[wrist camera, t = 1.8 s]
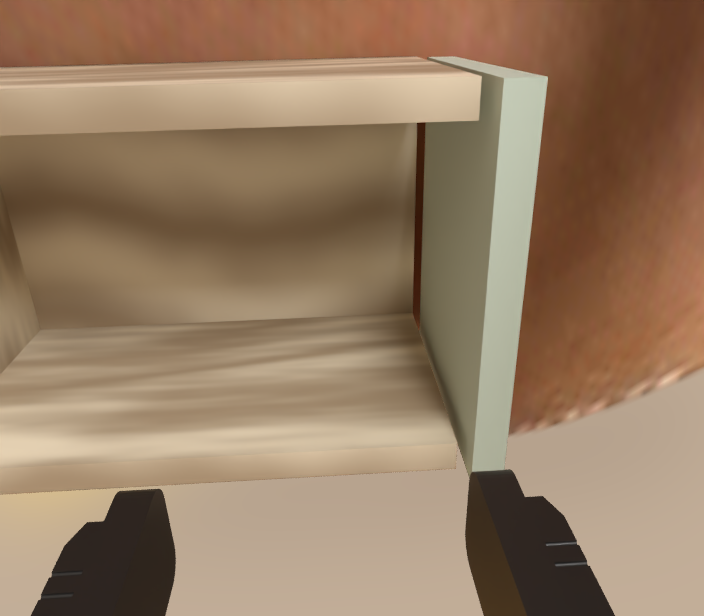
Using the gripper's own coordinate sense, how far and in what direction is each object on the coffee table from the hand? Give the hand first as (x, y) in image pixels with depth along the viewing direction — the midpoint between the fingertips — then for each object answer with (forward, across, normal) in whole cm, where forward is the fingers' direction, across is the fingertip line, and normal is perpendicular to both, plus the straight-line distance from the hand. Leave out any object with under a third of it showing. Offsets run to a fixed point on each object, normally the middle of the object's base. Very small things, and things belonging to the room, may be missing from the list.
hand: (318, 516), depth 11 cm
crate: (+22, +6, 0) cm, 22 cm away
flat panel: (+20, -6, 0) cm, 21 cm away
